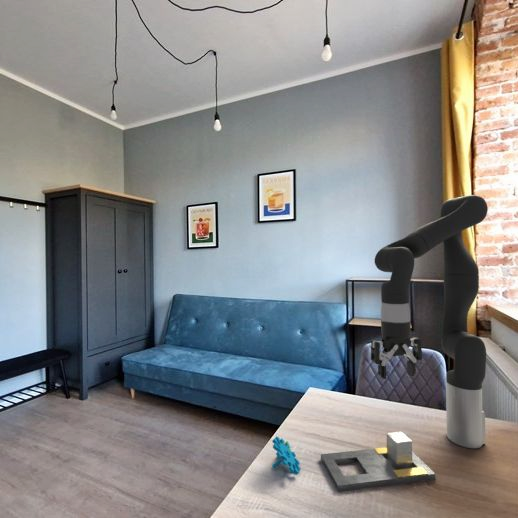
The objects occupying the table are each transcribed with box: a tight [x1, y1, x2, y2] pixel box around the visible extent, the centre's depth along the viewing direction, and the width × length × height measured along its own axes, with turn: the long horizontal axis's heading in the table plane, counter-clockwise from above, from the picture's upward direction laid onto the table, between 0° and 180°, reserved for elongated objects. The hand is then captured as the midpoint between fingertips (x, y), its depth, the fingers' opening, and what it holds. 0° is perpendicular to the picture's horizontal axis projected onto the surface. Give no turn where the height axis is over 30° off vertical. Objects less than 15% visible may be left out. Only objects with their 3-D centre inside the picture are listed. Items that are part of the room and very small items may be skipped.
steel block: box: [386, 431, 413, 470], centre depth 83 cm, size 4×4×8 cm
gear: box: [271, 436, 301, 475], centre depth 83 cm, size 11×6×10 cm
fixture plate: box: [320, 446, 436, 493], centre depth 82 cm, size 26×12×2 cm, turn 99°
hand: (397, 376), depth 85 cm, fingers open, 8 cm apart
